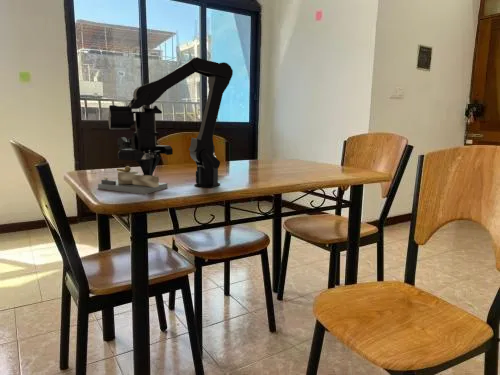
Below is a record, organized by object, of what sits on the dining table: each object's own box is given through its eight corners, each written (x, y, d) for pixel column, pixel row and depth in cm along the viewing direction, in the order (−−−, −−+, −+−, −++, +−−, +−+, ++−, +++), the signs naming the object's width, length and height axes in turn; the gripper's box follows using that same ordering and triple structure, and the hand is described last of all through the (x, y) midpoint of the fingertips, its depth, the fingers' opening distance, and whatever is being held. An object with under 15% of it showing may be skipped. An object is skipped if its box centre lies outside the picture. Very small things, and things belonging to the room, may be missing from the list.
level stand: (167, 187, 121) (167, 175, 120) (144, 194, 111) (144, 180, 110) (123, 183, 128) (122, 171, 127) (98, 188, 118) (97, 176, 117)
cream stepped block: (163, 185, 115) (163, 168, 114) (149, 188, 110) (148, 170, 109) (126, 180, 123) (125, 164, 122) (110, 182, 118) (109, 166, 117)
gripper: (145, 127, 126) (147, 174, 129) (101, 129, 109) (105, 183, 112) (173, 128, 121) (174, 176, 124) (132, 130, 104) (135, 186, 107)
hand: (148, 180), depth 117 cm, fingers closed
